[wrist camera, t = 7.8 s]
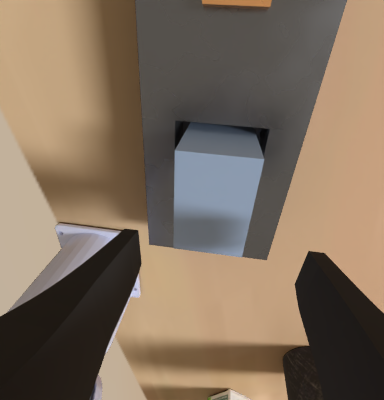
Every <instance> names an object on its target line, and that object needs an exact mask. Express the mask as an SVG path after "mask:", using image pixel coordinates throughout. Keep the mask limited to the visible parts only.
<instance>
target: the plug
mask: <svg viewBox="0 0 384 400" xmlns="http://www.w3.org/2000/svg"><path fill="white" fill-rule="evenodd" d="M263 163H264V157H263V154H262V151H261V148H260V145H259V142H258V139H257V136H256V133H255V130H254V127H244V126H233V125H221V124H210V123H198V122H190V124H189V126H188V128H187V130H186V131H185V133H184V135H183V137H182V139H181V140H180V142H179V144H178V146H177V147H176V149H175V170H174V237H173V248H176V249H184V250H191V251H198V252H206V253H213V254H221V255H228V256H236V257H242V255H243V250H244V246H245V242H246V237H247V233H248V229H249V224H250V220H251V216H252V211H253V207H254V202H255V198H256V194H257V189H258V185H259V181H260V176H261V172H262V168H263Z"/></svg>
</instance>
